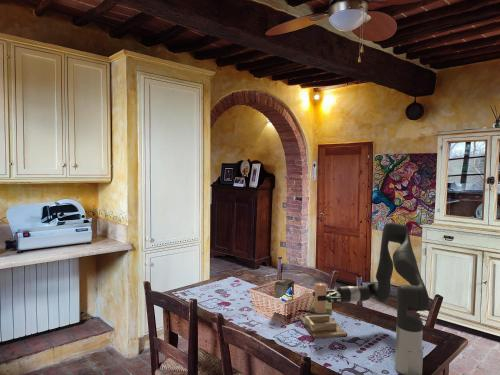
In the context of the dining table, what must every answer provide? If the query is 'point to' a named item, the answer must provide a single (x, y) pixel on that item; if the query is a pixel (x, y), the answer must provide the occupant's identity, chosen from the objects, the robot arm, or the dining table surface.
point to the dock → (322, 326)
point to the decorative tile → (328, 307)
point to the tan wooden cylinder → (320, 291)
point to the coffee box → (283, 287)
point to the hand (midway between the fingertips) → (315, 296)
